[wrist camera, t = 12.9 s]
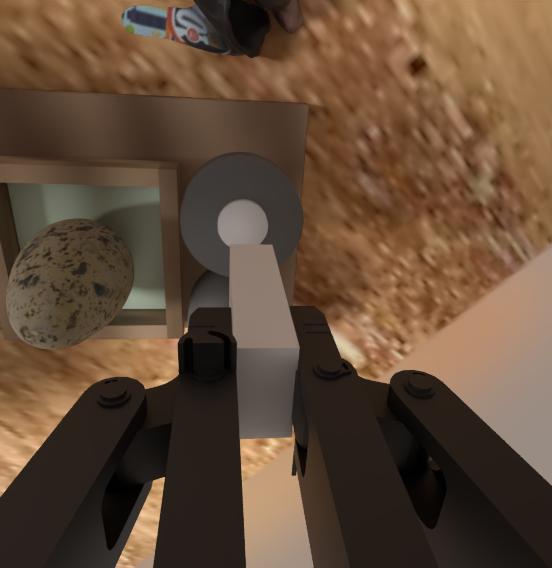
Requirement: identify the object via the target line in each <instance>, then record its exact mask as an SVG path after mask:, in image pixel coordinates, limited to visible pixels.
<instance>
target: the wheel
mask: <svg viewBox="0 0 552 568" xmlns="http://www.w3.org/2000/svg"><path fill="white" fill-rule="evenodd" d="M180 226H181V232H182V236H183V239H184V241H185V244H186V246H187V247H188V249H189V251H190V252H191V254H192V255H193V256H194V257H195V258H196V259H197V261H198V262H199V263H201V264H202V265H203V266H205V267H206V268H208V269H209V270H211V271H213V272H215V273H217V274H220V275H223V276H226V277H230V244H263V245H273V249H274V253H275V257H276V260H277V264H278V266H280V265H281V264H282V263H283V262H284V261H285V260H287V259H288V257H289V256H290V255H291V254H292V252H293V251H294V249H295V248H296V246H297V244H298V242H299V239H300V236H301V233H302V227H303V211H302V206H301V202H300V199H299V197H298V194H297V193H296V191H295V189H294V187H293V185H292V183H291V182H290V180H289V178H288V177H287V175H286V174H285V173H284V171H283V170H282V169H281V168H280V167H279V166H278V165H276V164H275V163H274V162H272V161H271V160H269V159H267V158H265V157H263V156H260V155H258V154H254V153H249V152H231V153H226V154H223V155H219V156H217V157H215V158H213V159H211V160H209V161H208V162H206V163H205V164H204V165H203V166H201V167H200V168H199V169H198V170H197V172H196V173H195V174H194V175H193V177H192V178H191V180H190V182H189V184H188V186H187V189H186V192H185V195H184V199H183V203H182V206H181V212H180Z"/></svg>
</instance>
